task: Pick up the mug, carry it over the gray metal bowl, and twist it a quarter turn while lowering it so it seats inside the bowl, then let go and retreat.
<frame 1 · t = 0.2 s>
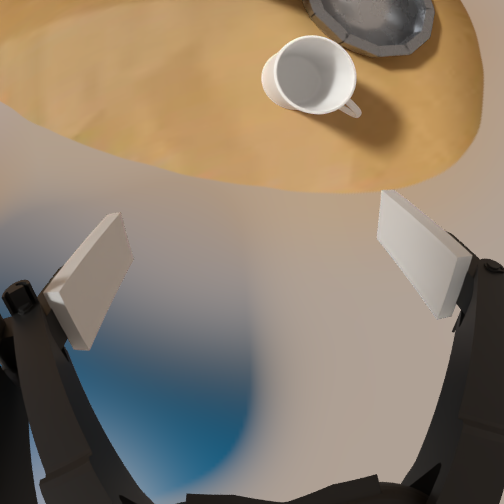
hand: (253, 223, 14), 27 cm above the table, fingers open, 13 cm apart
mug: (303, 86, 35), on the table
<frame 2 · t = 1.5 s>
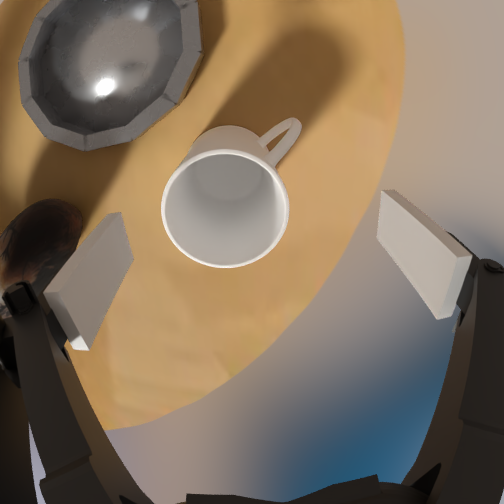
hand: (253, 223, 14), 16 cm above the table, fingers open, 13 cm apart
decorative stone: (57, 228, 31), on the table
gray metal bowl: (108, 53, 22), on the table
mug: (241, 156, 29), on the table
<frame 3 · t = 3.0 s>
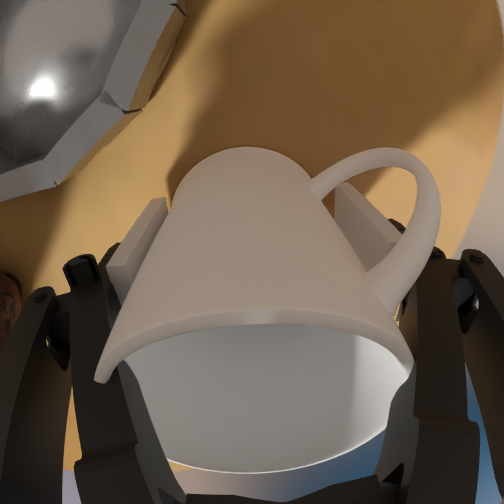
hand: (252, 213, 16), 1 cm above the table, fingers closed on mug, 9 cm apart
gray metal bowl: (33, 33, 10), on the table
mug: (269, 202, 16), on the table, touching gripper
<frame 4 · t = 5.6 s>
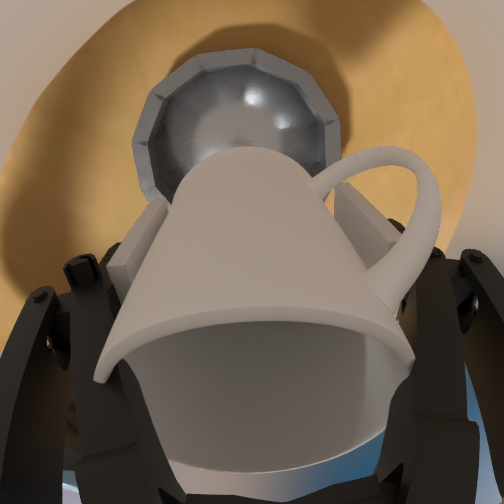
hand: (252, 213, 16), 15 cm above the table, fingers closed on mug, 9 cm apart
gray metal bowl: (237, 147, 28), on the table
mug: (270, 202, 16), point 14 cm above the table, touching gripper
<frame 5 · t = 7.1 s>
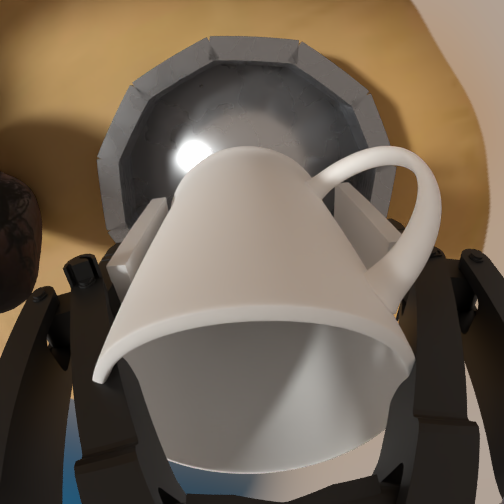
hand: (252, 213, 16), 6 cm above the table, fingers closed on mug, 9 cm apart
decorative stone: (9, 185, 19), on the table
gray metal bowl: (246, 179, 21), on the table
mug: (269, 202, 16), point 5 cm above the table, touching gripper
when the fingers open (3 cm above the table, at t = 8.1 s): mug drops 1 cm, resting on gray metal bowl.
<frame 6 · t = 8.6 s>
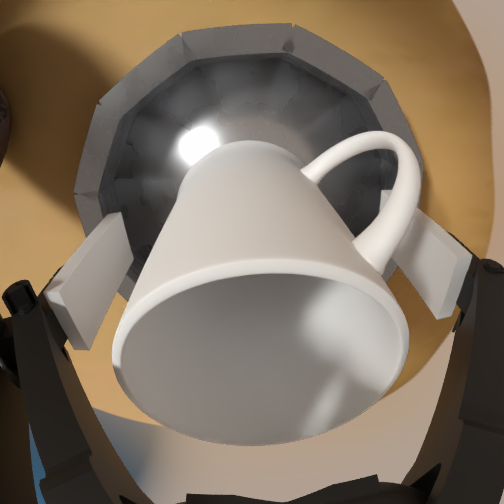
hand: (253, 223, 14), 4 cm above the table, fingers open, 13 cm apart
gray metal bowl: (250, 196, 18), on the table
mug: (269, 192, 17), resting on gray metal bowl
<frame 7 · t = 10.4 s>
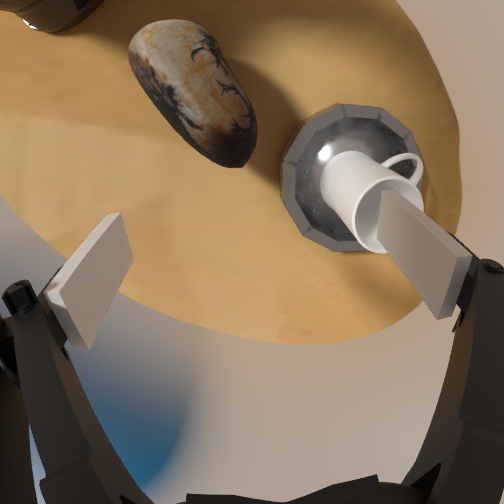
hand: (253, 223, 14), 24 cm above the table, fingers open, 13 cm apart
decorative stone: (206, 93, 32), on the table
gray metal bowl: (351, 176, 37), on the table
mug: (359, 174, 37), resting on gray metal bowl
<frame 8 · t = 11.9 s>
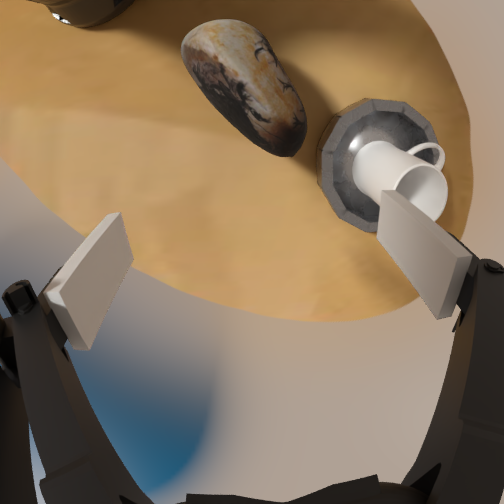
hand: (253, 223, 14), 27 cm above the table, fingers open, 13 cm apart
decorative stone: (247, 87, 34), on the table
gray metal bowl: (378, 163, 40), on the table
mug: (386, 162, 39), resting on gray metal bowl
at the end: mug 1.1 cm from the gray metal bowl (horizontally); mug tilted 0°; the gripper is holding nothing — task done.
